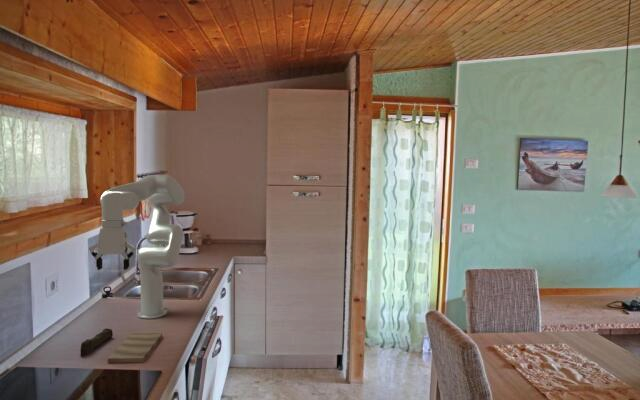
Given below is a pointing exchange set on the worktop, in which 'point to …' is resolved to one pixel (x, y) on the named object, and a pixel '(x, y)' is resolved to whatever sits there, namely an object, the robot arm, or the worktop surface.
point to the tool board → (135, 348)
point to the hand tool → (95, 341)
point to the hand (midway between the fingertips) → (112, 269)
